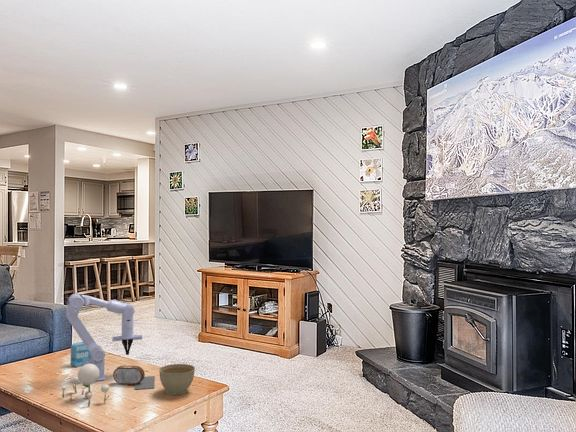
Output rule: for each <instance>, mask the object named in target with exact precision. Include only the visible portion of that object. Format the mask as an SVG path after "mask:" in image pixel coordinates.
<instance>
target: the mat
mask: <svg viewBox="0 0 576 432" xmlns="http://www.w3.org/2000/svg"><path fill="white" fill-rule="evenodd" d="M155 377H156V376H155V375H152V376H151V375H149V376H144V379H143V380H142V381H141V382H140V383H138V384H134V391H139V390H140V391H141V390H150V389H152V390H154V389H155Z"/></svg>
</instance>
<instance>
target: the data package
mask: <svg viewBox="0 0 576 432" xmlns="http://www.w3.org/2000/svg"><path fill="white" fill-rule="evenodd" d="M90 358H91V356H90V354H89V350H88V348H87V347H86V345H85V344H84V342H83V341H81V342H79V341H78V342H75V343H73V344H71V346H70V365H71V366H72V367H75V368H81V367H82V366H84V364H85V362H86V361H89V359H90Z"/></svg>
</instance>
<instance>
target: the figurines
mask: <svg viewBox="0 0 576 432" xmlns="http://www.w3.org/2000/svg"><path fill="white" fill-rule="evenodd" d="M98 378H99V369H98V367H97V366H96V365H94V364H86V365H84V366H80V367H79V369H78V371H77V376H73V377H72V379H71V383H72V388H73V390H74V394H77V385H78V384H79V383H81V384H82V387H81V389H82V392H81V395H82V396H83V395H84V398H85V399H87V400H88V404H87V407H90V405H91V398H92V396H93V393H92V391H91V385H92V384H94V383H96V382H97V379H98ZM86 388H87V390H88V391H85V389H86ZM66 389H67V387H66V386H64V385H63V386H61V391H62V398H65V394H64V393H65V390H66ZM109 390H110V386H109V385H108V384H103V385H102V386H101V388H100V391H101V392H102V393H104V399H103V403H106V401H107V400H108V399H109V397H110V394H108V396H106V393H107V392H108V391H109ZM84 391H85V393H84ZM69 394H70V398H69V399H70V400H69V401H70V402H72V401H73V398H72V397H73V394H72V392H70V393H69Z"/></svg>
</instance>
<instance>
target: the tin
mask: <svg viewBox="0 0 576 432" xmlns="http://www.w3.org/2000/svg"><path fill="white" fill-rule="evenodd" d="M112 377H113V380H114V382H116V383H117V384H119V385H120V384H121V385H135V384H138V383H140V382H141V381H142V380H143V379H144V377H146V375H145V371H144V368H142V367H141V366H139V365H120V366H118V367H116V368H115V369H114V370H113V373H112Z"/></svg>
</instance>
